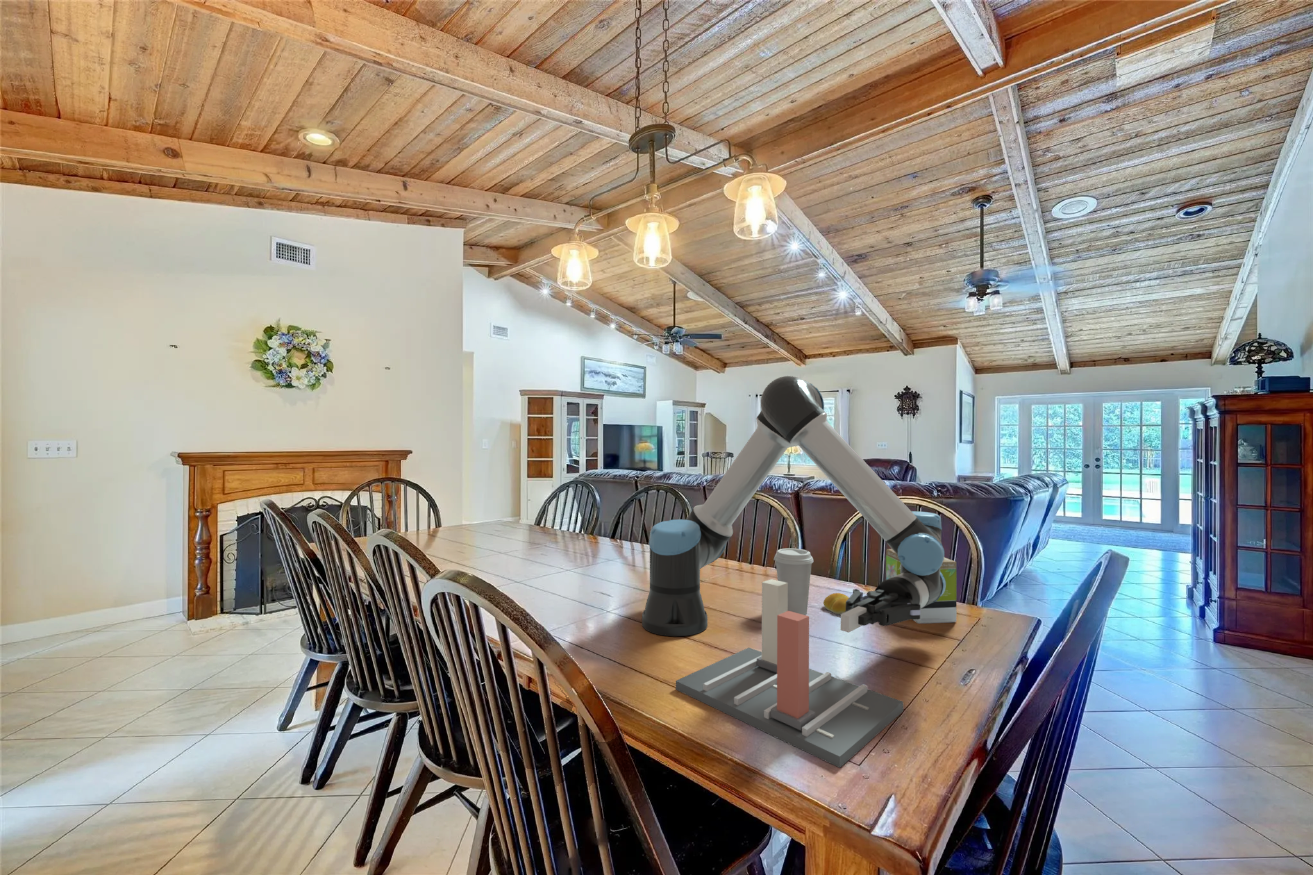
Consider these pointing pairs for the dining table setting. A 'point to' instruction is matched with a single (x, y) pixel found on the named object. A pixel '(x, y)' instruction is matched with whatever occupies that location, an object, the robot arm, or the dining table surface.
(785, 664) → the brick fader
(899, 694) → the dining table surface
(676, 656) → the dining table surface
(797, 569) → the coffee cup
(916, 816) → the dining table surface
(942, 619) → the tea box
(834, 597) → the yellow rounded lump
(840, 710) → the console
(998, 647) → the dining table surface
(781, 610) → the cream fader
